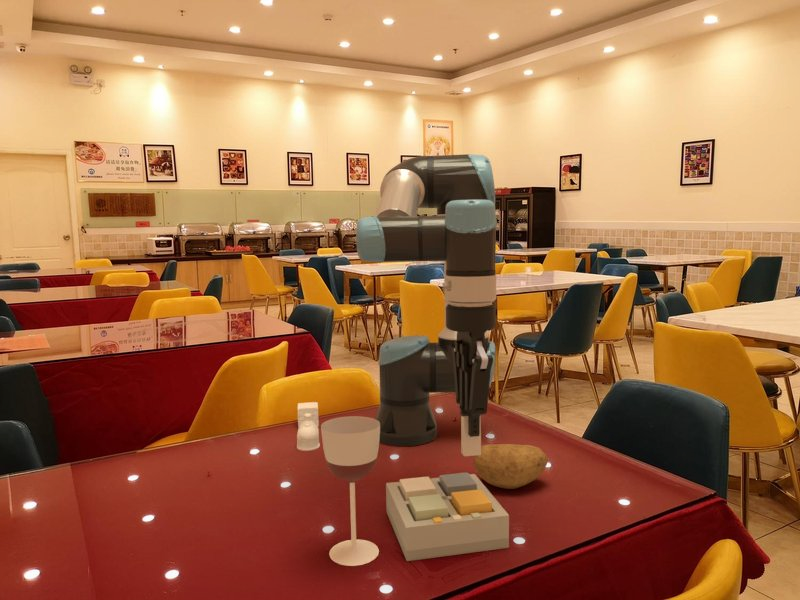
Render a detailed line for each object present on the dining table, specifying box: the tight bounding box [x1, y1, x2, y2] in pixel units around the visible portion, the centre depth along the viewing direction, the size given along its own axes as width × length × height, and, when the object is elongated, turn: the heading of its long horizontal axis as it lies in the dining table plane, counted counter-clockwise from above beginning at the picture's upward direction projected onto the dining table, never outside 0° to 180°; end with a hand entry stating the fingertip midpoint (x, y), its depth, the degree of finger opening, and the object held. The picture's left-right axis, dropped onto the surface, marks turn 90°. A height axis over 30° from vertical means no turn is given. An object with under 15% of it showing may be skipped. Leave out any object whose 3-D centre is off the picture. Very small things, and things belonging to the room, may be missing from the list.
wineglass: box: [320, 415, 380, 567], centre depth 90 cm, size 8×9×20 cm
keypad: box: [385, 473, 510, 562], centre depth 98 cm, size 16×16×6 cm
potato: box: [473, 443, 549, 490], centre depth 114 cm, size 10×14×8 cm
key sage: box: [409, 494, 448, 521], centre depth 93 cm, size 5×5×3 cm
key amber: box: [451, 489, 492, 516], centre depth 95 cm, size 5×5×3 cm
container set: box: [296, 401, 321, 452], centre depth 143 cm, size 20×5×6 cm, turn 8°
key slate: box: [438, 471, 477, 496], centre depth 101 cm, size 5×5×3 cm
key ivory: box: [399, 475, 436, 501], centre depth 100 cm, size 5×5×3 cm
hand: (471, 453), depth 94 cm, fingers closed
